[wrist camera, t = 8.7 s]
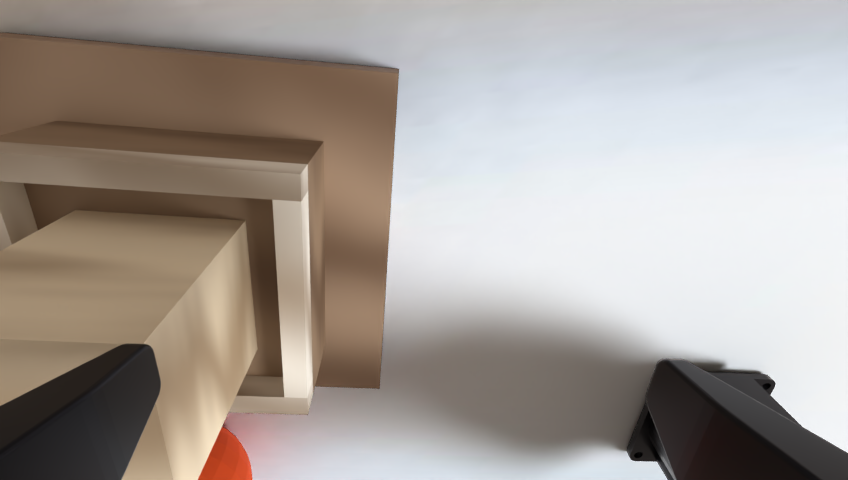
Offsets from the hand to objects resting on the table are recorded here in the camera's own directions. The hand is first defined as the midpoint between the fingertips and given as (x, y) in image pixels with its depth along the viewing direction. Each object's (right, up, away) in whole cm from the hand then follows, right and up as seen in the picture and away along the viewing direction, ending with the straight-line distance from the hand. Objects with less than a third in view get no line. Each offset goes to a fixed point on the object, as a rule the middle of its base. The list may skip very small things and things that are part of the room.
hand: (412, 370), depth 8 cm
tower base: (-8, +3, +11) cm, 14 cm away
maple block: (-8, +1, +7) cm, 10 cm away
